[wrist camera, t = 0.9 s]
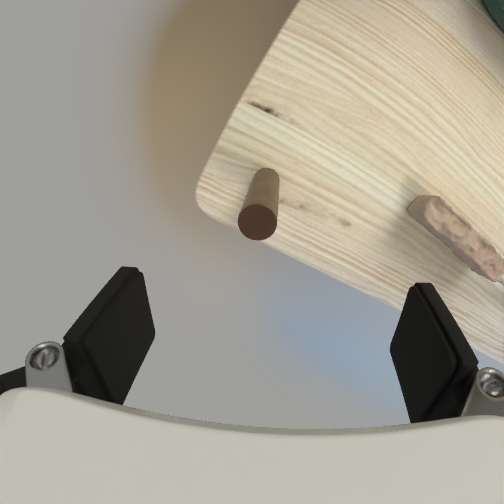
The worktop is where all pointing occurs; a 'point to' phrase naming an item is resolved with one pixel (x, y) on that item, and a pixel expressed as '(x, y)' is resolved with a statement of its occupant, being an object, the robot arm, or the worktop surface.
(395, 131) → the worktop surface
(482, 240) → the tan handled block
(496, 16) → the mixing bowl
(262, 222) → the stick
